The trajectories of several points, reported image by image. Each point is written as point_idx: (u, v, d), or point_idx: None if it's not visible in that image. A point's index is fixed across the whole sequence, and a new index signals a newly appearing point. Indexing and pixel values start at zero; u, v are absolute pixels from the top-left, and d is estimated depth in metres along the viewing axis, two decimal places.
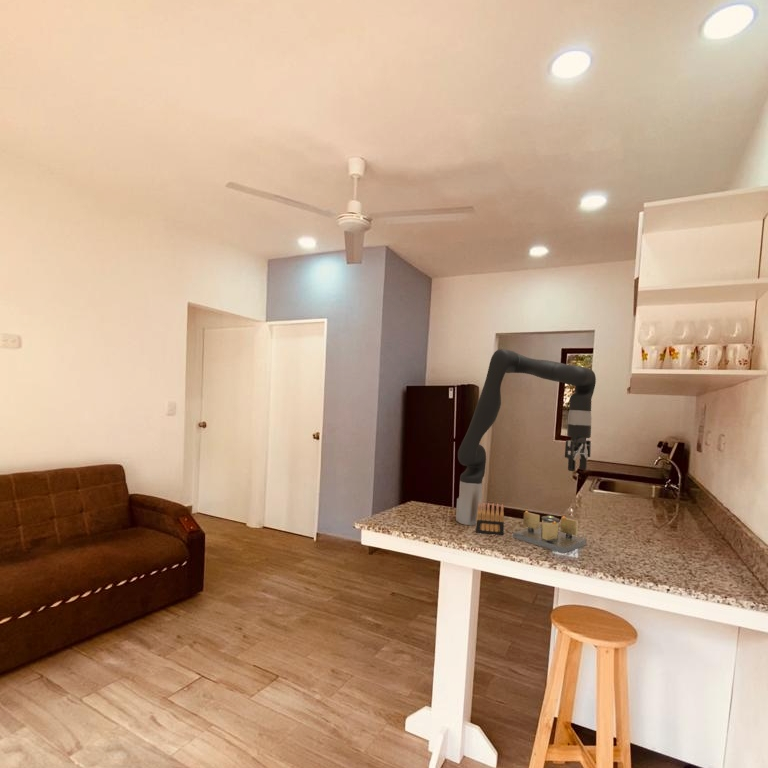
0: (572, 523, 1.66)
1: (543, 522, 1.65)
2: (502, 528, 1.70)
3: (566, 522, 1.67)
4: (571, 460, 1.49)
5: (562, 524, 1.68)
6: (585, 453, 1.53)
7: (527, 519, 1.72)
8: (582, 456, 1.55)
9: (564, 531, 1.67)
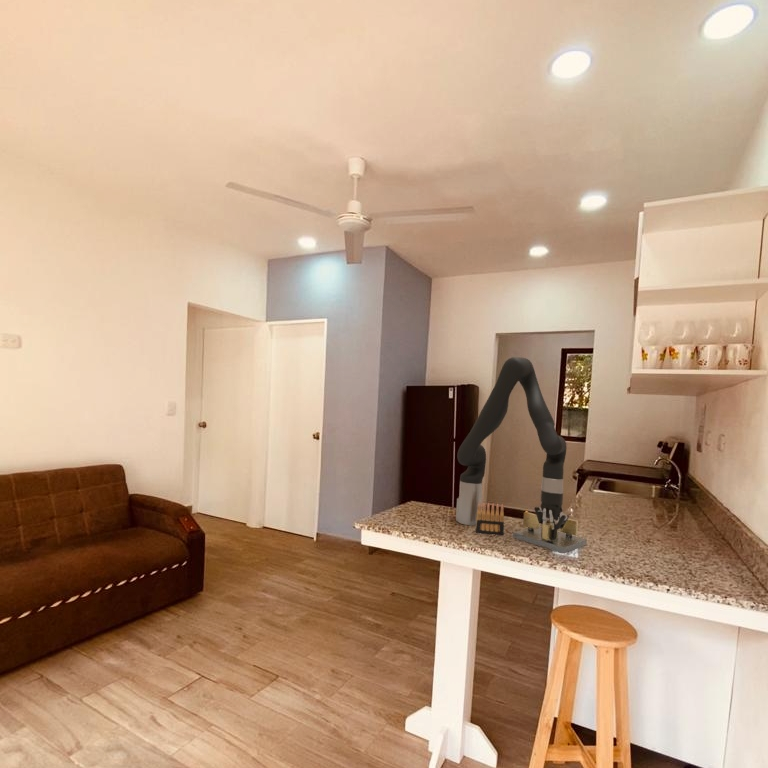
0: (572, 523, 1.66)
1: None
2: (502, 528, 1.70)
3: (566, 522, 1.67)
4: (556, 530, 1.57)
5: None
6: None
7: (527, 519, 1.72)
8: None
9: (564, 531, 1.67)
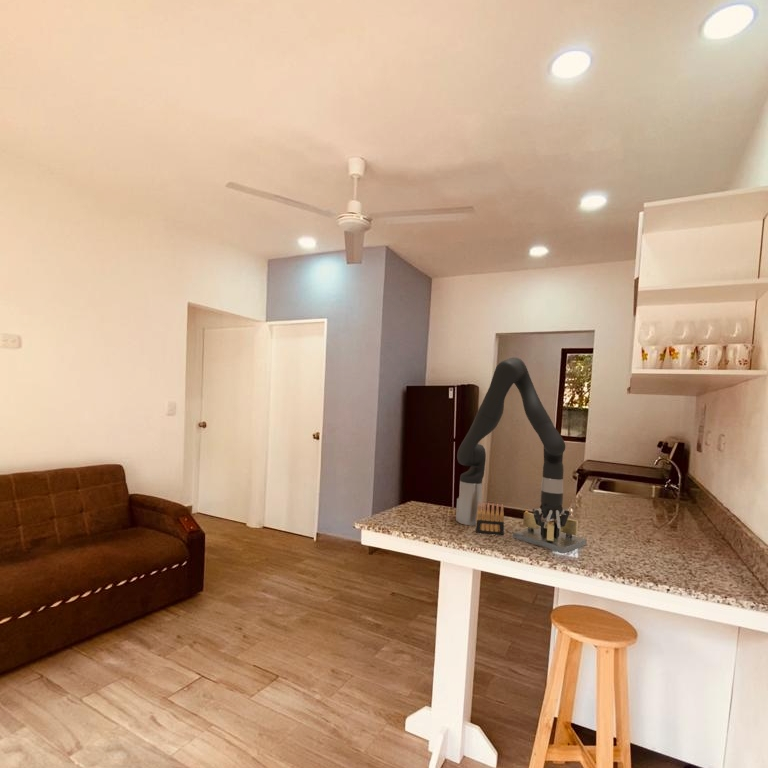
0: (572, 523, 1.66)
1: None
2: (502, 528, 1.70)
3: (566, 522, 1.67)
4: None
5: None
6: None
7: (527, 519, 1.72)
8: None
9: (564, 531, 1.67)
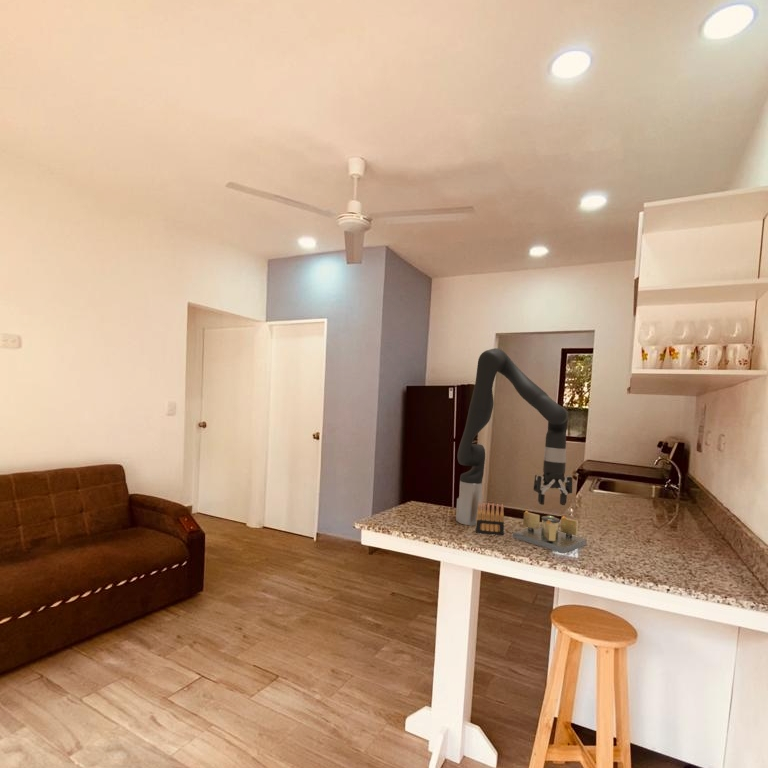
0: (572, 523, 1.66)
1: (543, 522, 1.65)
2: (502, 528, 1.70)
3: (566, 522, 1.67)
4: None
5: (562, 524, 1.68)
6: None
7: (527, 519, 1.72)
8: None
9: (564, 531, 1.67)
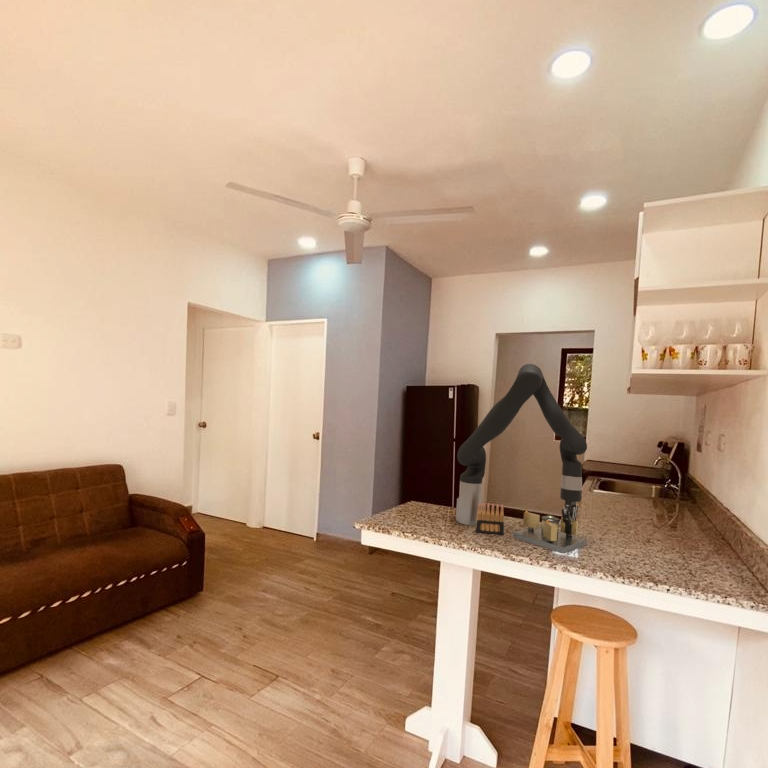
0: (572, 523, 1.66)
1: (543, 522, 1.65)
2: (502, 528, 1.70)
3: None
4: None
5: (562, 524, 1.68)
6: None
7: (527, 519, 1.72)
8: None
9: (564, 531, 1.67)
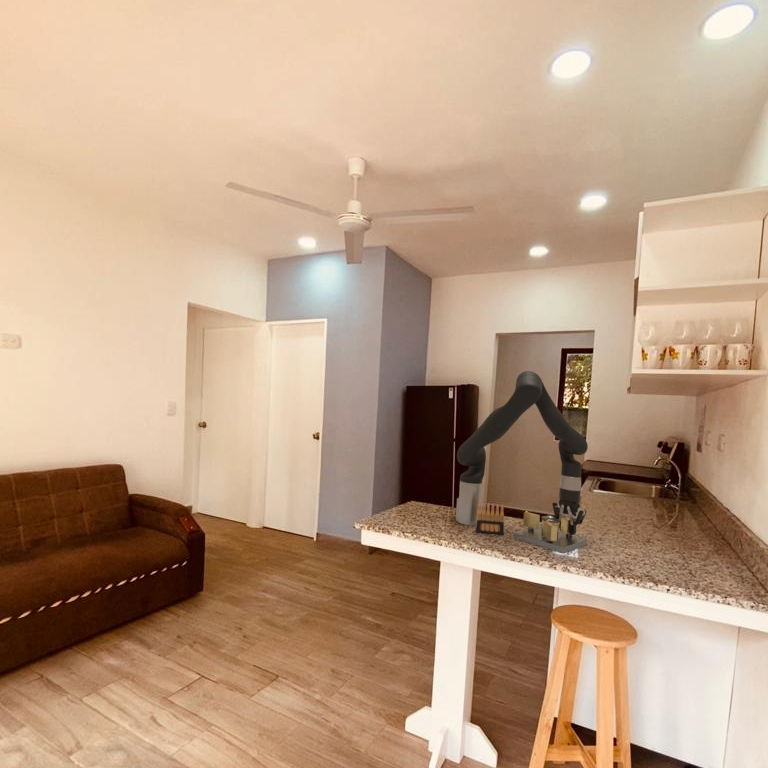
0: None
1: (543, 522, 1.65)
2: (502, 528, 1.70)
3: (568, 522, 1.66)
4: None
5: (564, 525, 1.66)
6: None
7: (527, 519, 1.72)
8: None
9: (566, 532, 1.66)
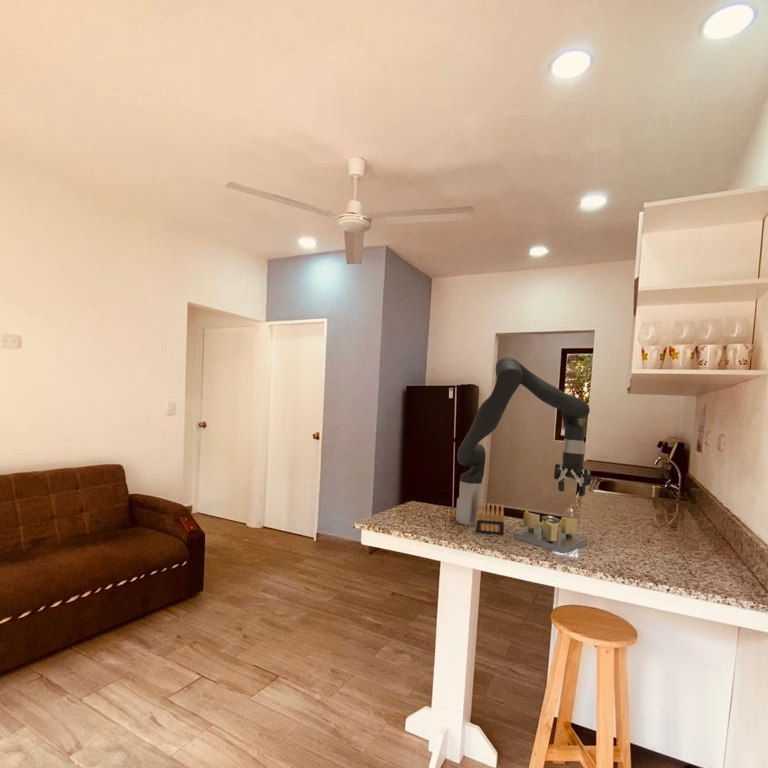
0: (574, 523, 1.67)
1: (543, 522, 1.65)
2: (502, 528, 1.70)
3: (569, 523, 1.66)
4: None
5: (566, 526, 1.66)
6: None
7: (527, 519, 1.72)
8: None
9: (568, 532, 1.66)
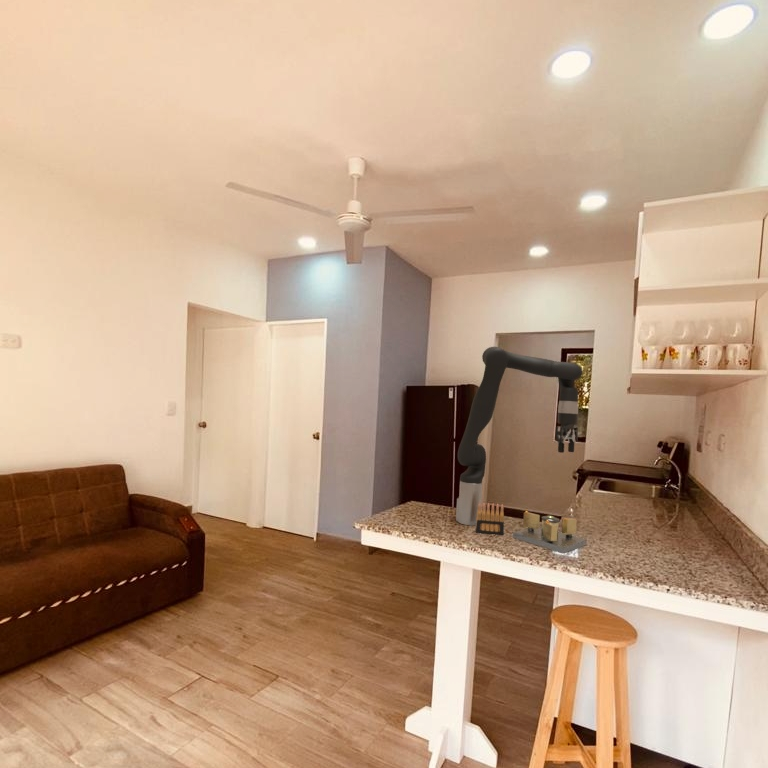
0: (574, 523, 1.67)
1: (543, 522, 1.65)
2: (502, 528, 1.70)
3: (570, 523, 1.66)
4: None
5: (568, 526, 1.65)
6: None
7: (527, 519, 1.72)
8: None
9: (569, 533, 1.66)
